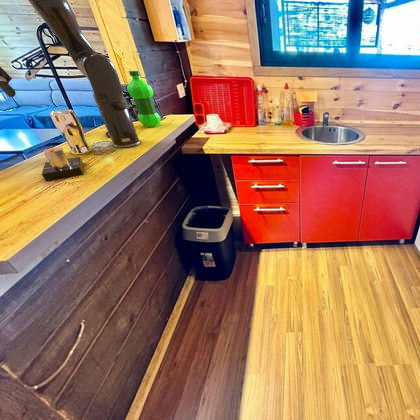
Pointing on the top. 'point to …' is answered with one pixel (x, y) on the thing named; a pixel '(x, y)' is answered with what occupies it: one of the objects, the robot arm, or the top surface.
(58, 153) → the dial
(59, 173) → the black flat block
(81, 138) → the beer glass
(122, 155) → the top surface
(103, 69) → the robot arm
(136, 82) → the plastic bottle
